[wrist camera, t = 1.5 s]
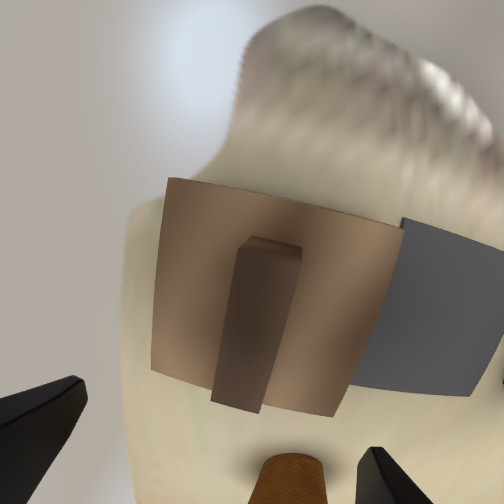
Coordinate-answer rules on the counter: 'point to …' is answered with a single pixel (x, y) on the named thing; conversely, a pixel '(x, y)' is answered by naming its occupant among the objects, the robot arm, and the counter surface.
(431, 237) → the mat
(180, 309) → the cover
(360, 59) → the counter surface
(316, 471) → the disposable coffee cup
